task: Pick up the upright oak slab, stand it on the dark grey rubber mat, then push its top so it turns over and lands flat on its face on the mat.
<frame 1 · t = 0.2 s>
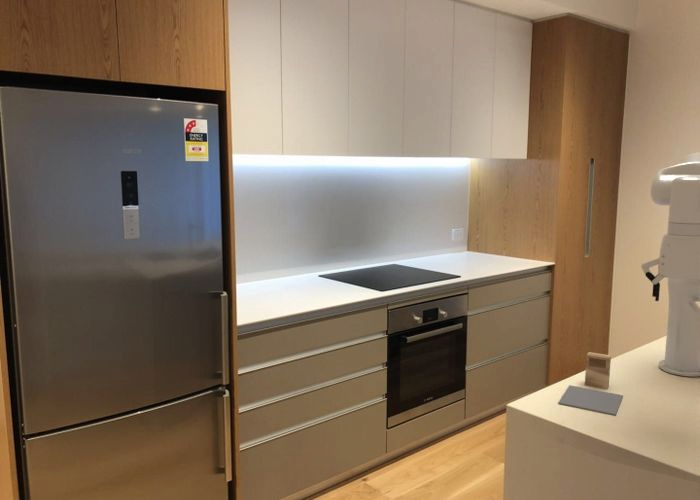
hand: (679, 302, 138), 31 cm above the worktop, tool pointing down, fingers open, 9 cm apart
rubber mat: (591, 400, 157), on the worktop
oak slab: (596, 385, 168), on the worktop
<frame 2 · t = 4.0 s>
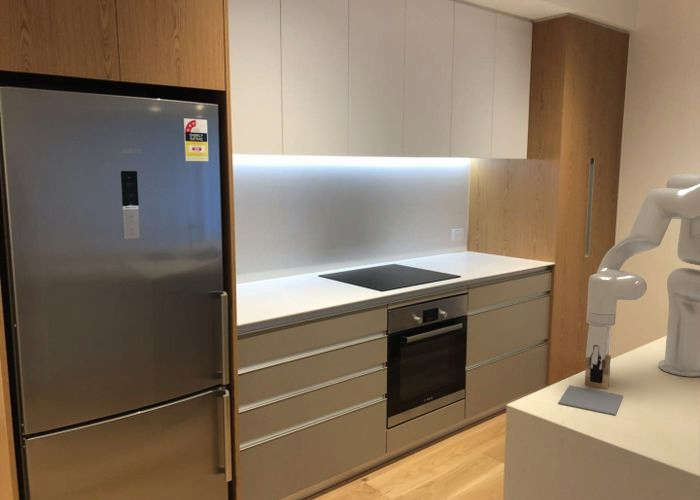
hand: (597, 379, 167), 2 cm above the worktop, tool pointing down, fingers closed on oak slab, 3 cm apart
oak slab: (596, 385, 168), on the worktop, touching gripper
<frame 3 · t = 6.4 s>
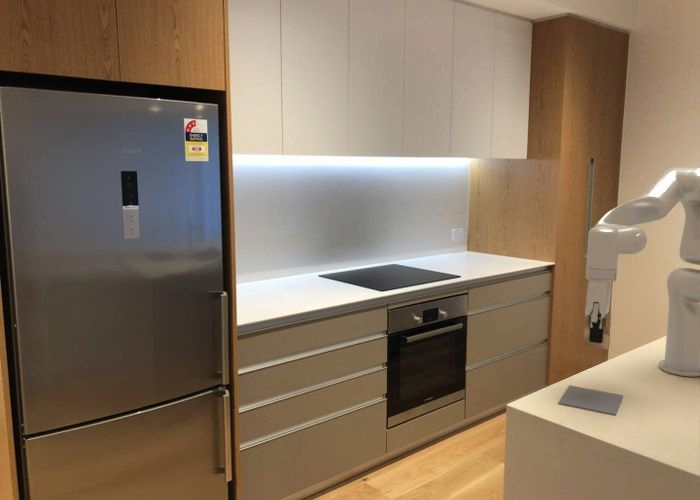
hand: (596, 339, 158), 16 cm above the worktop, tool pointing down, fingers closed on oak slab, 3 cm apart
oak slab: (596, 346, 159), point 14 cm above the worktop, touching gripper
when the fingers open (2 cm above the worktop, at t = 8.9 s): oak slab stays where it is, resting on rubber mat.
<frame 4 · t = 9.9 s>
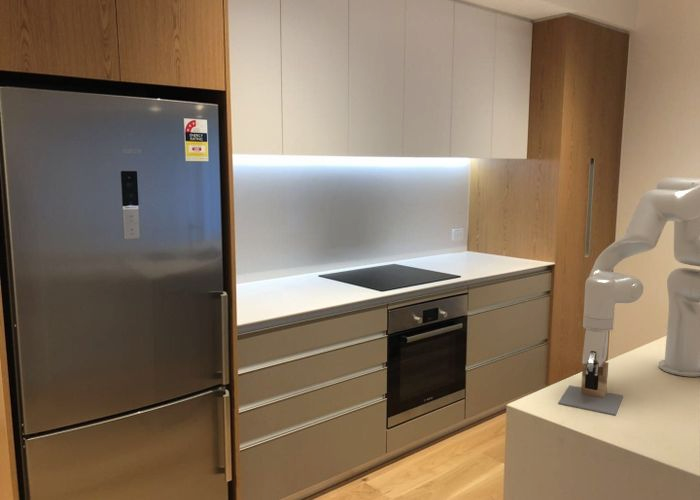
hand: (594, 382, 160), 4 cm above the worktop, tool pointing down, fingers open, 9 cm apart
oak slab: (593, 393, 161), resting on rubber mat
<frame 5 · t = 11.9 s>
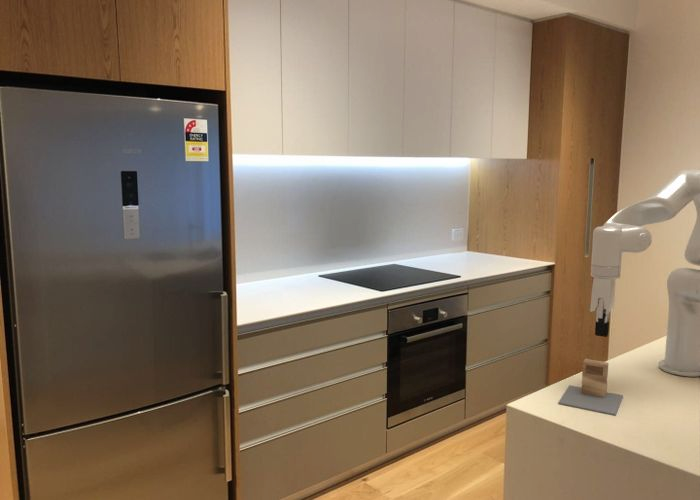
hand: (601, 335, 165), 15 cm above the worktop, tool pointing down, fingers closed
nothing on the worktop moved.
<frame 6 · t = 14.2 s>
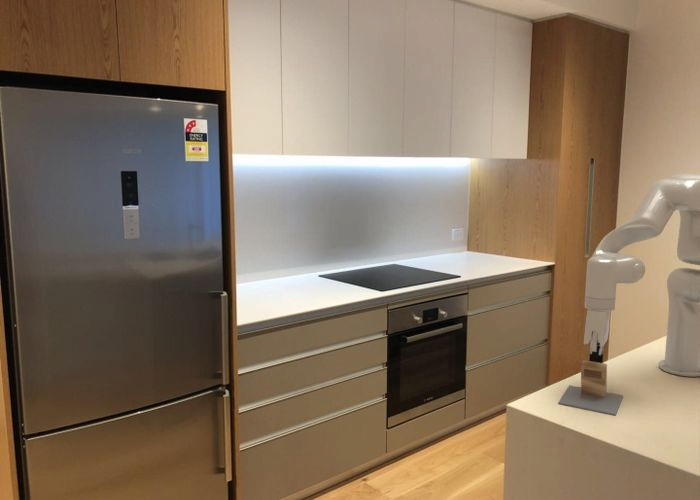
hand: (595, 367, 160), 8 cm above the worktop, tool pointing down, fingers closed
oak slab: (593, 392, 161), point 1 cm above the worktop, tilted 17°, touching rubber mat
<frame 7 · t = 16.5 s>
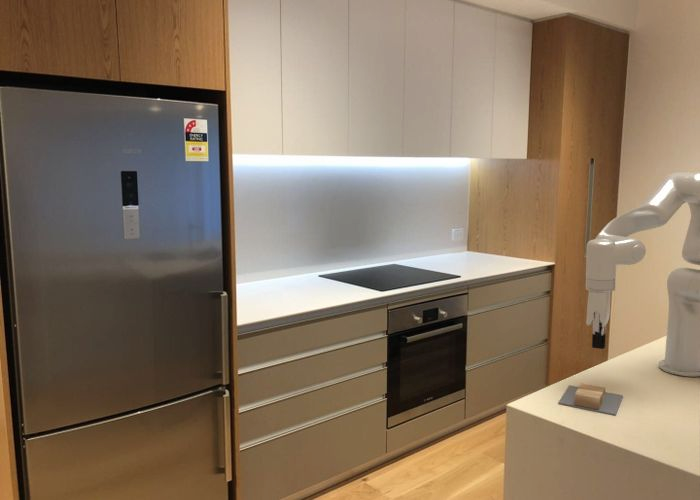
hand: (598, 347, 165), 12 cm above the worktop, tool pointing down, fingers closed
oak slab: (593, 390, 159), point 2 cm above the worktop, tilted 89°, touching rubber mat
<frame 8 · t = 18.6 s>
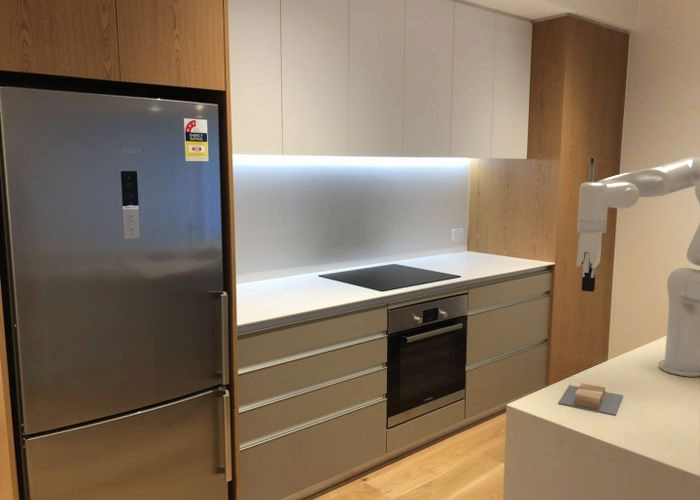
hand: (588, 290, 166), 27 cm above the worktop, tool pointing down, fingers closed
nothing on the worktop moved.
at the end: oak slab tilted 89°; oak slab 2.6 cm from the rubber mat (horizontally); the gripper is holding nothing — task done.
